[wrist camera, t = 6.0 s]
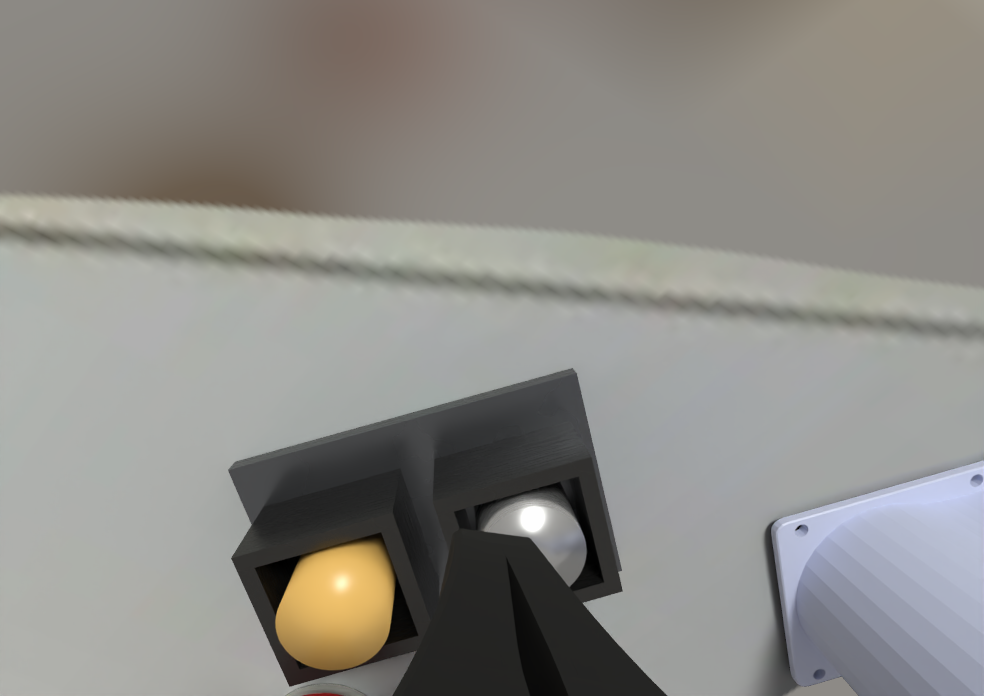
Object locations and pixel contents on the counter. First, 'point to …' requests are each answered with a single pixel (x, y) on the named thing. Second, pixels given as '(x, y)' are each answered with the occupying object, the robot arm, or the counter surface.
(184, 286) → the counter surface
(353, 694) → the soda can
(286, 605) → the amber plunger
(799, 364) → the counter surface
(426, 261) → the counter surface
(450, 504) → the socket block
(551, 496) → the steel plunger
